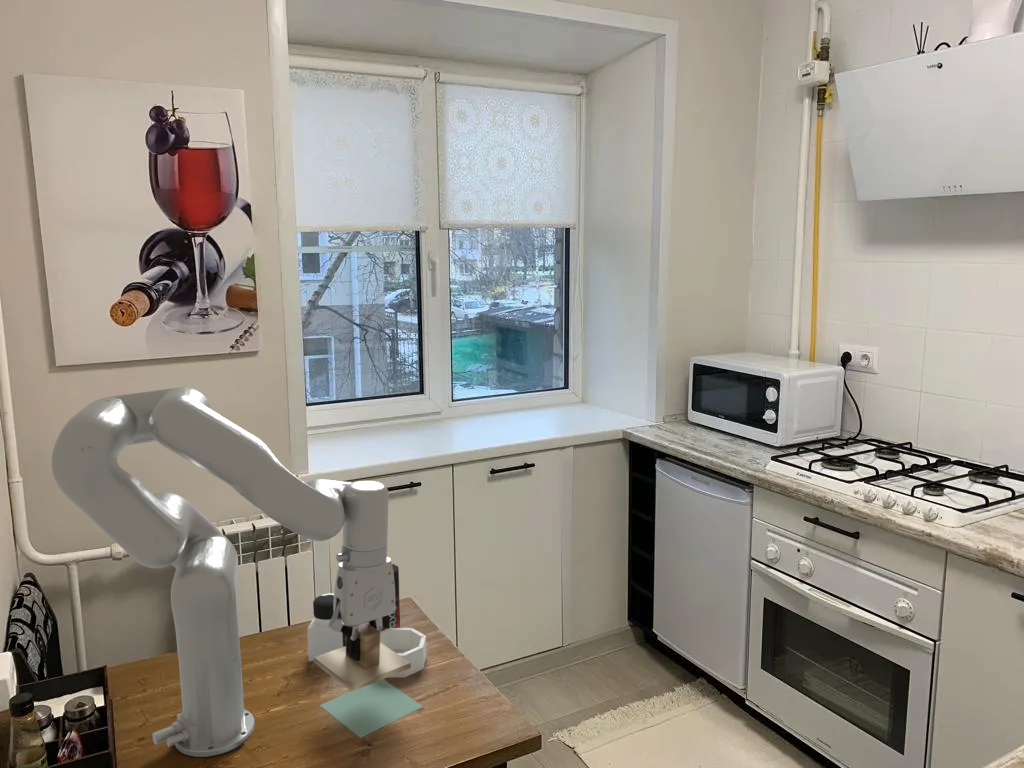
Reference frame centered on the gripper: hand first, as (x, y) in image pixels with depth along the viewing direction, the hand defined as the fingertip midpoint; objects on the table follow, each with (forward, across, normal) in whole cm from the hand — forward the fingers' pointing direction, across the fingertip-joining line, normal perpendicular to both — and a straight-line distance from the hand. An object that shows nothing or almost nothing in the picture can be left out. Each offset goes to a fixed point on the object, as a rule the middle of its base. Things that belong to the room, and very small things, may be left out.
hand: (362, 653), depth 136 cm
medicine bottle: (+11, +7, +21) cm, 25 cm away
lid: (+2, 0, 0) cm, 2 cm away
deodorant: (+11, +19, +19) cm, 29 cm away
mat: (+11, +2, -1) cm, 11 cm away
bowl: (+10, +14, +8) cm, 19 cm away
